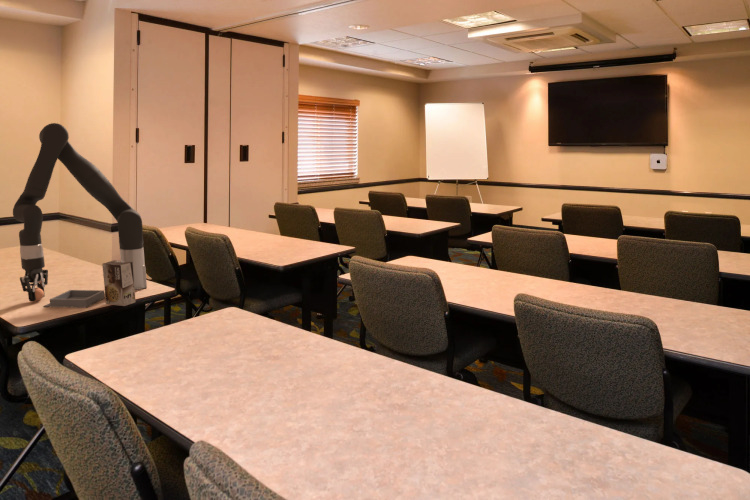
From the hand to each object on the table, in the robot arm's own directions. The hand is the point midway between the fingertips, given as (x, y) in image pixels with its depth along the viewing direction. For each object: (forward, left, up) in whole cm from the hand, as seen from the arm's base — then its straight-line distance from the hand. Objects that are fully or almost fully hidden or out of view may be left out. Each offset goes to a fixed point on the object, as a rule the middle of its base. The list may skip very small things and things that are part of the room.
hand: (37, 298), depth 214 cm
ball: (0, 0, +2) cm, 2 cm away
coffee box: (-28, +16, -1) cm, 33 cm away
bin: (-14, +8, -1) cm, 16 cm away
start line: (-7, +4, -1) cm, 8 cm away
